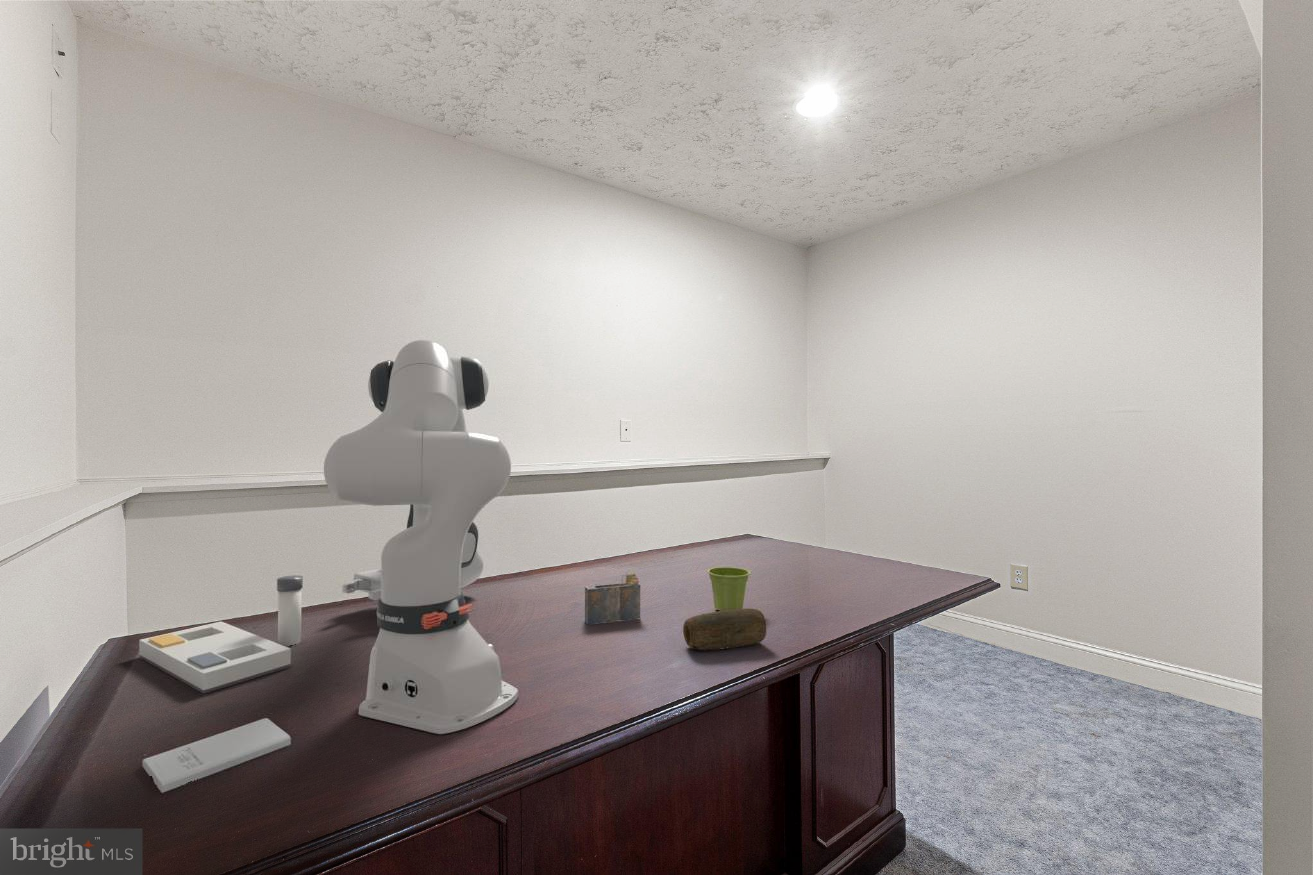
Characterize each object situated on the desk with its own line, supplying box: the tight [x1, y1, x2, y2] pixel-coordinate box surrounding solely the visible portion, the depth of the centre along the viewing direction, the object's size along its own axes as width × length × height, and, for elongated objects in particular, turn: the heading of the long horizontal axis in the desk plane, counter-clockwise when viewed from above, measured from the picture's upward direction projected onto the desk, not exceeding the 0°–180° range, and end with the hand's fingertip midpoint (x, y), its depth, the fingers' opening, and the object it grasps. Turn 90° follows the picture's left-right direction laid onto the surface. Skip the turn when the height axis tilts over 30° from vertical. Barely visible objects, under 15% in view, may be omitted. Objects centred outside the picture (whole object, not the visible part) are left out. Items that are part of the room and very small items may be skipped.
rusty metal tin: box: [584, 571, 641, 625], centre depth 121 cm, size 11×3×10 cm, turn 111°
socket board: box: [138, 621, 292, 694], centre depth 97 cm, size 26×12×3 cm, turn 58°
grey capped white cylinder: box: [276, 574, 304, 647], centre depth 106 cm, size 4×4×12 cm
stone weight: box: [682, 608, 767, 651], centre depth 106 cm, size 15×7×7 cm, turn 111°
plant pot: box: [707, 566, 751, 612], centre depth 129 cm, size 9×9×9 cm
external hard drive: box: [142, 717, 292, 793], centre depth 69 cm, size 2×8×12 cm
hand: (357, 592), depth 117 cm, fingers open, 8 cm apart
